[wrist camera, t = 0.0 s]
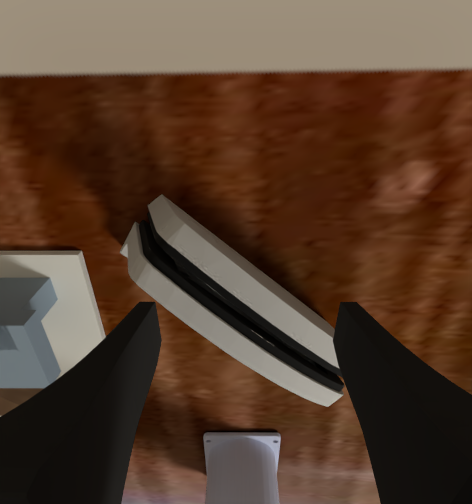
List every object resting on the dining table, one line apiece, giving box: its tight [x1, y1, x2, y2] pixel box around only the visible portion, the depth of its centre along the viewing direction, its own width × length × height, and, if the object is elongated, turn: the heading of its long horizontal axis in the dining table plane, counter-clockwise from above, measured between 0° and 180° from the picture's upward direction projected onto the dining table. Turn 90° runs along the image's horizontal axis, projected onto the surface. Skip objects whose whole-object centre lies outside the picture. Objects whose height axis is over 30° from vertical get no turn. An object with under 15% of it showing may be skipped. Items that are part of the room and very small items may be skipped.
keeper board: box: [0, 251, 106, 417], centre depth 25 cm, size 20×14×6 cm
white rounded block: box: [120, 194, 344, 407], centre depth 20 cm, size 17×5×10 cm, turn 48°
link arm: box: [0, 388, 44, 416], centre depth 27 cm, size 13×4×3 cm, turn 45°
